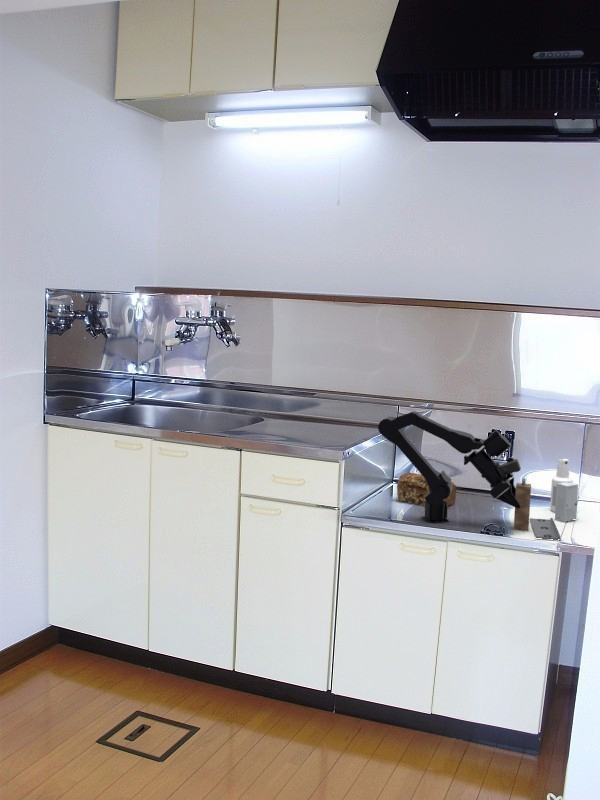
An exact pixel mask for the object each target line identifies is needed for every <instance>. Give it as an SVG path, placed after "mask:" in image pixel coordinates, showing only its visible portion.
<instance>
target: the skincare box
mask: <svg viewBox="0 0 600 800" xmlns="http://www.w3.org/2000/svg"><path fill="white" fill-rule="evenodd" d="M578 494H579V484H578V483H575V482H573V483H570V482H565V483H557V487H556V506H555V512H554V520H555V521H559V522H563V523H567V521H568V522H570V521H569V520H573V519H576V520H577V515H578V514H577V513H578V498H579V497H578V496H579V495H578Z"/></svg>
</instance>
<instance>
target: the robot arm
mask: <svg viewBox="0 0 600 800" xmlns="http://www.w3.org/2000/svg"><path fill="white" fill-rule="evenodd" d="M411 425H412V426H414V427H416V428H418V429H420V430H421V431H425V432H426V433H429V434H431V435H433V436H435V437H437V438H439V439H441V440H443V441H445V442H446V443H447V444H448V445H450V447H452V448H453V449H455V450H456V451H458V452H459V453H461V454H463V465H464V466H466V465H468V464H469V463H471V464H472V466H473V467H474V468H475V469H476V470H477V471H478V473H479V474H480V477H481V478H482V479H484V480H486V481H487V483H489V487H490V495H491V496H492V498H493V499H494V500H495V499H496V500H499V501H501V502H503V503H505V504H507V505H510V506H512V507H513V508H514V509H515V508H517V509H519V508H520V507H521V506H520V504H519V503H518V501H517V500H516V498H515V495H516V485H515V477H514V474H513V473H518V472H520V471H521V469H522V468H521V465H520V462H519V460H518V459H517V458H514V457H512V456H509V457H507V458H506V462H504V463H502V464H500V463H499V462H498V461H495V460H494V459H493V457H496V458H498V457H500V456H501V455H502V454H503V453H505V452H506V451H507V450H508V449H509V448H511V447H512V444H511V442H510V441H509V440H508V439H507V437H506V436H504V435H503V434H502V433H501V432H499V431H498V430H497V429H495V430H494V431H493V432H492V433H491V435H489V436H488V437H487V438H485V439H482V438H478V437H475V436H474V435H473V434H471V433H468V432H466V431H462V430H457V429H453V428H449V427H448V426H446V425H444V424H441V423H440V422H437V421H436V420H433V419H430V417H426V416H424V415H422V414H421V413H419V412H418V411H416V410H412V411H410V412H408V413H405V414H403V415H400V416H396V417H394V416H386V417H385V418H384V419H381V421H379V423H378V427H377V428H378V429H377V430H378V432H379V434H380V435H381V436H383V437H384V438H385V439H386V440H387V441H389V442H390V443H392V444H393V445H395V446H396V447H397V448H398V449H399V450H400V451H401V453H402V454H403V455H404V456H405V457H406V458H407V460H409V462H410V463H411V464H412V465H413V467H415V469H416V470H417V471H418V473H419V474H422V476H423V477H424V478H425V480H426V482H427V484H428V486H429V488H430V490H431V491H430V492H429V493H428V494H427V496H426V497H425V499H426V501H425V506H424V516H421V519H423V520H424V521H427V522H429V523H430V524H435V523H447V522H449V519H448V507H449V506H447V502H446V501H444V499H446V498H447V497H448V496H449V495H450V493H451V492H452V489H453V485H452V482H453V481H452V478H451V477H449V476H448V474H446V472H445V471H444V470H442V471H441V472H439V471H438V470H436V469H435V468H434V467H433V466H432V464H431V463H430V462H429V461H428V460H427V459H426V458H425V457H424V455H423V454H422V453H421V452H420V451H419V450H418V448H417V447H416V446H415V445H414V444H413V443H412V442H411V440H410V439H409V438H408V437H407V435H406V433H405V431H404V429H403V428H406V427H409V426H411ZM469 453H470V454H469ZM464 454H465V455H464ZM466 454H468V455H466Z"/></svg>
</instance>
